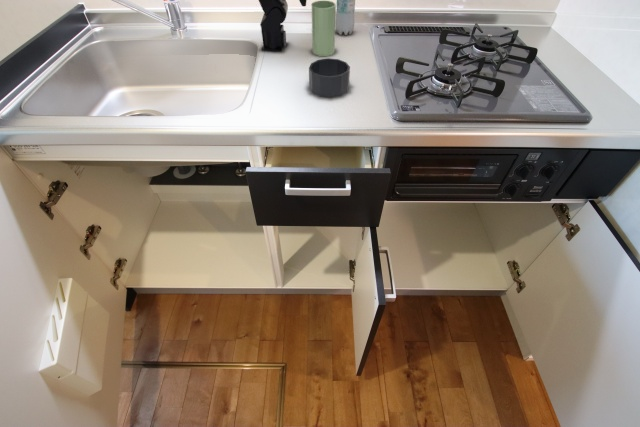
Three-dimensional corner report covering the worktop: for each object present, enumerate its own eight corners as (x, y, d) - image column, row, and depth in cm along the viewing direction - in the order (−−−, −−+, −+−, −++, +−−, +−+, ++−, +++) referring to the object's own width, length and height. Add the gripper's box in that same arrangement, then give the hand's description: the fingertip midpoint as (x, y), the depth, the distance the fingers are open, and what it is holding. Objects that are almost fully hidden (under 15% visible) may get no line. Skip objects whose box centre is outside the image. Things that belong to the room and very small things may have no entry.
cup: (320, 58, 102) (319, 10, 92) (308, 50, 105) (307, 3, 96) (338, 52, 104) (340, 5, 94) (326, 45, 108) (326, -1, 98)
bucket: (306, 95, 87) (305, 74, 83) (314, 77, 94) (314, 57, 89) (345, 99, 86) (346, 78, 81) (350, 80, 92) (352, 60, 88)
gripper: (327, -62, 78) (329, 12, 90) (341, -76, 90) (340, -9, 102) (281, -62, 80) (288, 11, 92) (300, -76, 92) (305, -10, 104)
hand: (307, 0), depth 97 cm, fingers open, 9 cm apart
